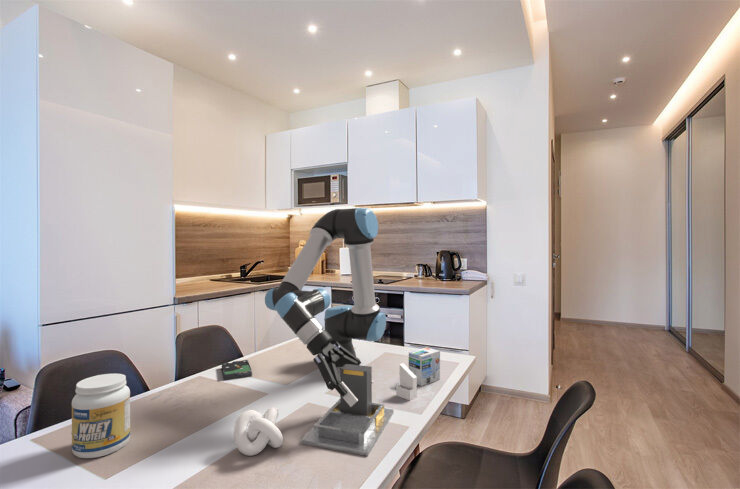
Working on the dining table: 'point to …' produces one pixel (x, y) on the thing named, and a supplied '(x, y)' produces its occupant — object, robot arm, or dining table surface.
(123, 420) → the supplement tub
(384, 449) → the dining table surface
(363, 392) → the grey block
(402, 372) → the white wedge bracket
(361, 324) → the robot arm
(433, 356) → the light bulb box
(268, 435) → the white knot
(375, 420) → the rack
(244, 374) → the disk drive
